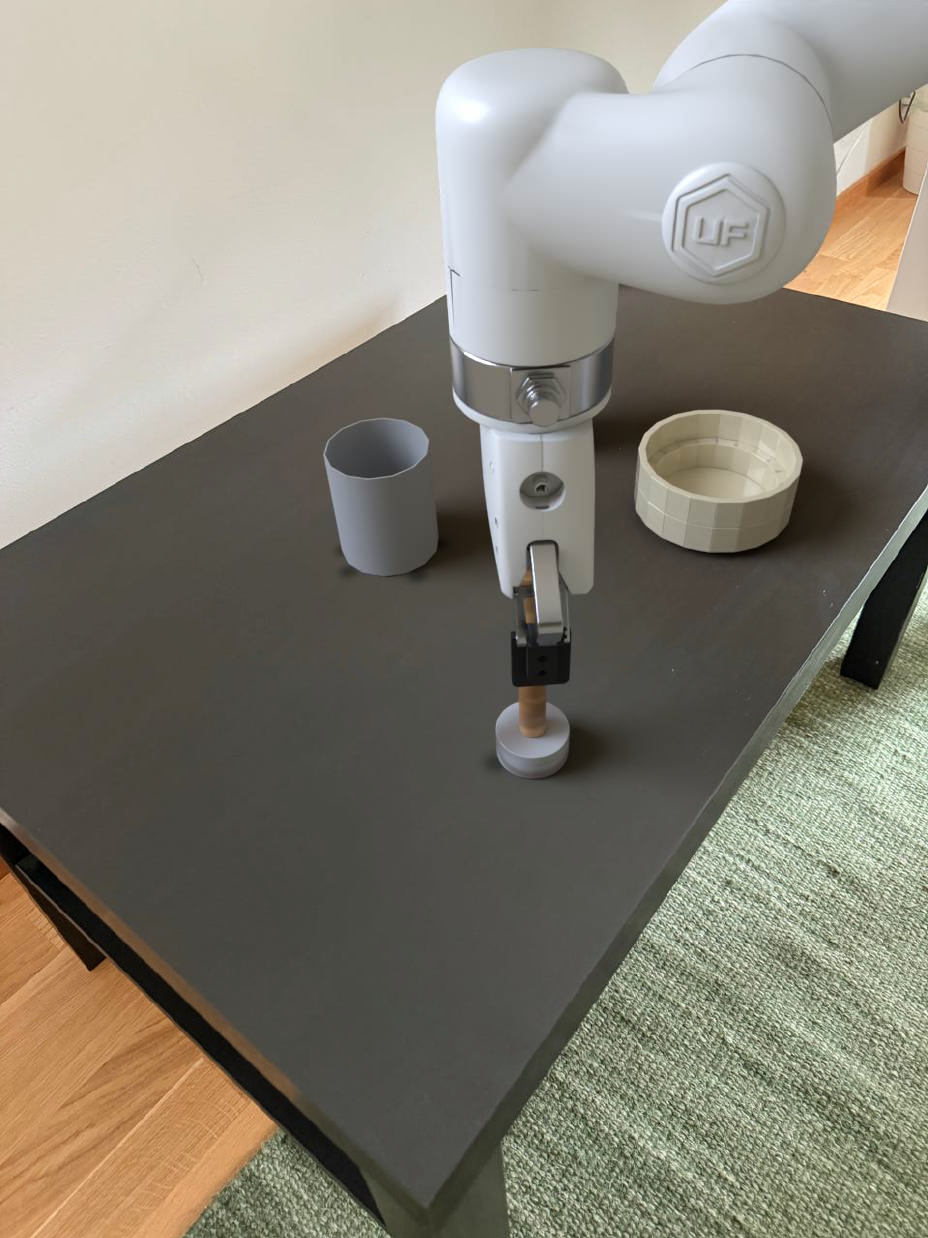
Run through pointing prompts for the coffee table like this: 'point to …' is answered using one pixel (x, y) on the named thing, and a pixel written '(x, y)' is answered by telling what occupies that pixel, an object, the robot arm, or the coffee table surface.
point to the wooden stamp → (532, 727)
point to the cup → (383, 495)
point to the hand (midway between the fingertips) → (531, 621)
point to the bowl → (716, 480)
